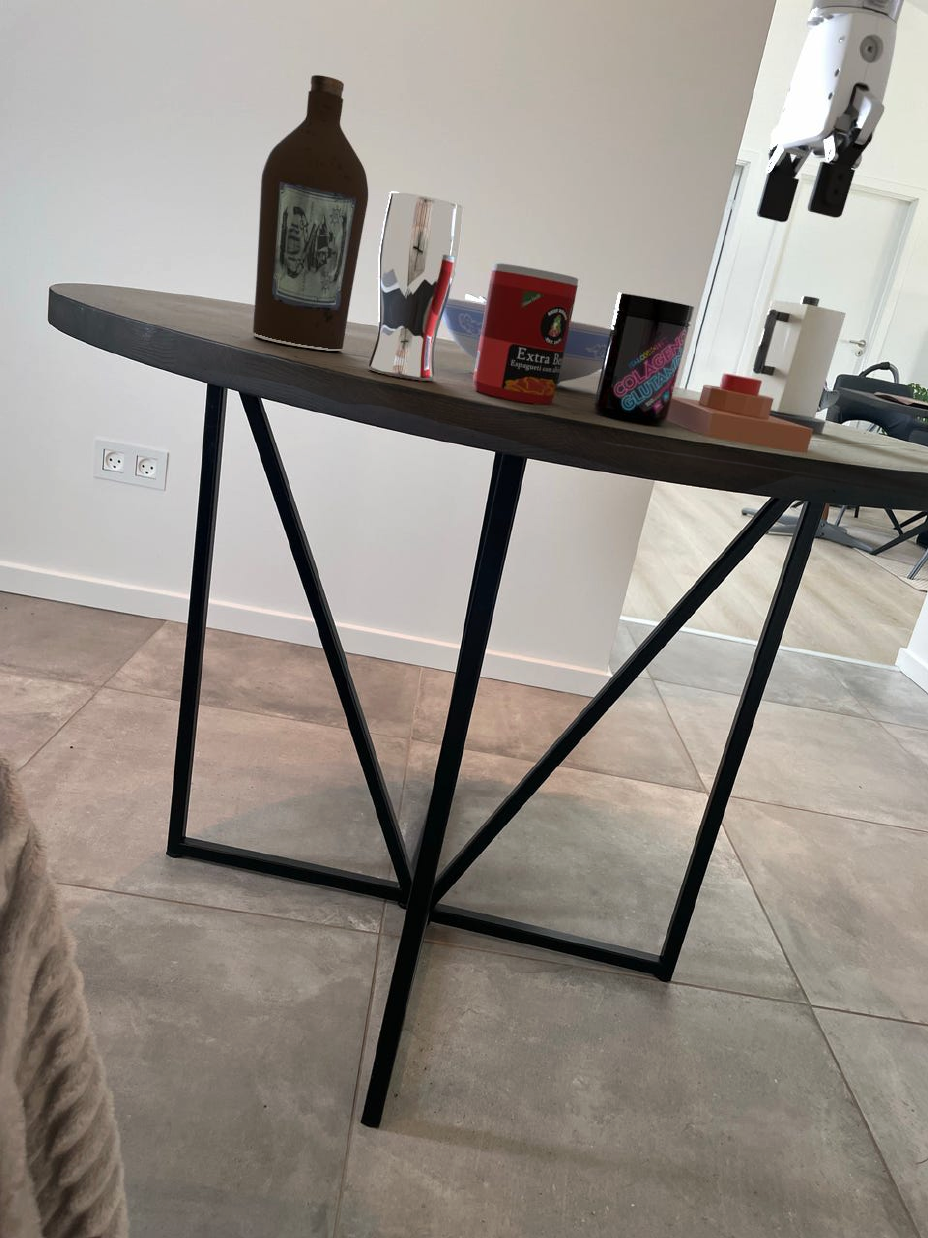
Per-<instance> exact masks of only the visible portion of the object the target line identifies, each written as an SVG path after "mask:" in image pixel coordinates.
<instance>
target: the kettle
mask: <svg viewBox="0 0 928 1238" xmlns="http://www.w3.org/2000/svg"><path fill="white" fill-rule="evenodd" d="M820 301H821V300H820V298H819V297H814V296H808V295H807V296H806V295H802V296H801V298H800V301H799V303H798V302H792V301H791V302H790V301H783V300H782V301H781V300H774V299H773V300H770V304H769V308H768V311H767V314H766V318H765V321H764V324H763V329H762V333H761V336H760V340H759V344H758V347H757V351H756V354H755V358H754V362H753V366H752V370H751V374H750V377H749V378H752V379H757V380H761V381H762V383H761V387H760V390H759V395H763V396H767V397H771V398H773V399H774V400H773V403H772V407H771V411H775V412H780V413H786V414H793V415H799V416H806V417H812V418H816V414H817V412H818V407H819V405H820V402H821V398H822V395H823V391H824V388H825V385H826V380H827V378H828V374H829V371H830V368H831V364H832V362H833V359H834V355H835V351H836V348H837V344H838V341H839V339H840V338H839V337H840V334H841V330H842V327H843V325H844V320H845V318H846V312H843V311H840V310H839V311H838V310H833V309H830V308H826V307H821V306H819V304H820Z"/></svg>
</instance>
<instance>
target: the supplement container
mask: <svg viewBox="0 0 928 1238" xmlns="http://www.w3.org/2000/svg"><path fill="white" fill-rule="evenodd" d="M614 308H615V309H613V316H612V321H611V325H610V328H611V330H610V334H609V339H608V343H607V348H606V352H605V357H604V361H603V366H602V369H601V371H600V375H599V379H598V384H597V389H596V394H595V399H594V402H593V409H594V411H595V414H597V415H598V416H600V417H603V418H607V419H611V420H614V421H619V422H623V423H628V424H635V425H638V426H639V425H640V426H646V427H653V428H655V427H656V428H659V427H661V426H663V425H664V424H665V423H666V421H667V416H668V412H669V408H670V403H671V399H672V396H674V391H675V388H676V382H677V380H678V379H677V378H678V376H679V375H678V374H679V371H680V366H681V363H682V358H683V355H684V350H685V346H686V342H687V338H688V335H689V330H690V327H691V325H692V324H691V322H692V319H693V315H694V311H695V306H692V305H688V304H684V303H680V302H676V301H675V302H674V301H669V300H664V299H659V298H653V297H648V296H643V295H637V294H632V293H631V294H630V293H622V292H618V293H617V296H616V302H615V305H614Z"/></svg>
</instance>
